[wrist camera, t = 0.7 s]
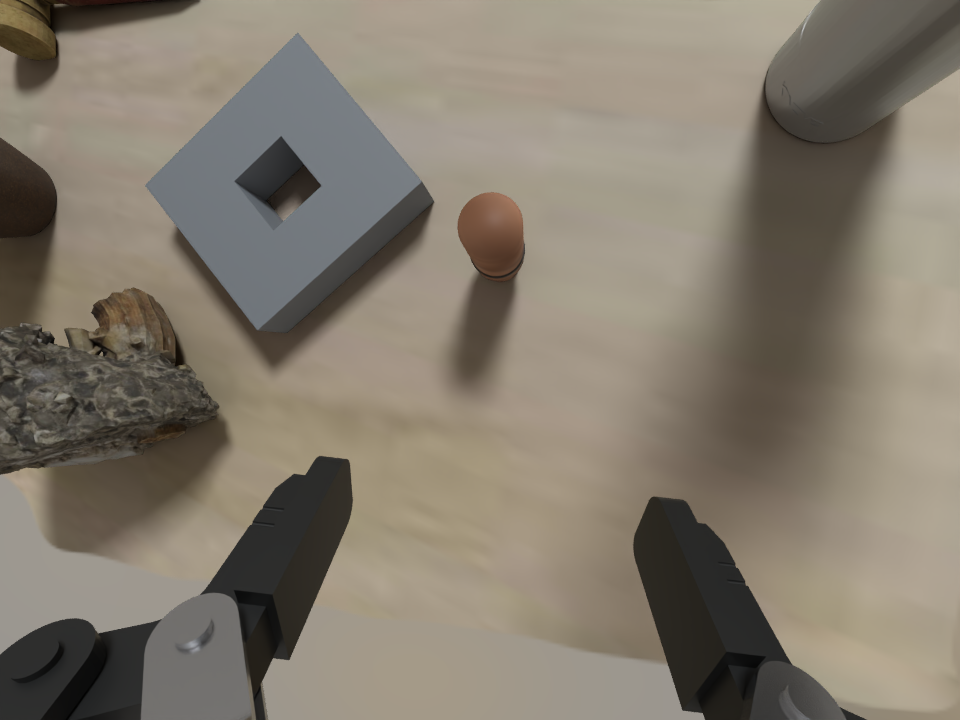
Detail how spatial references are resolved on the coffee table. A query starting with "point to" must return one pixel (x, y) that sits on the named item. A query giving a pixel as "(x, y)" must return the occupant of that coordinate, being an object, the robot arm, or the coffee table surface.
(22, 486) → the coffee table surface
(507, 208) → the cherry peg
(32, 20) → the gavel
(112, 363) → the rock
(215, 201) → the slate socket board
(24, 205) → the plant pot
